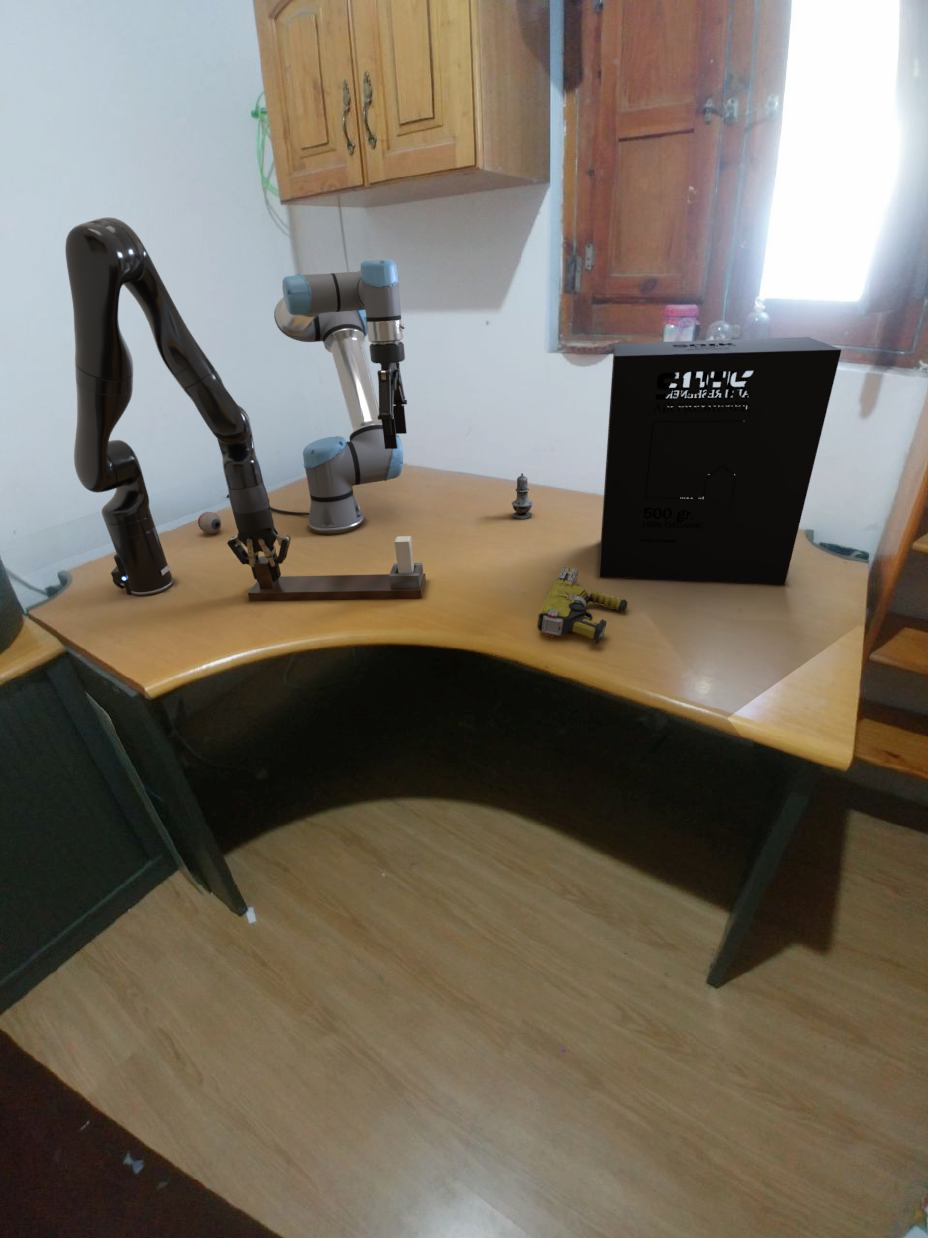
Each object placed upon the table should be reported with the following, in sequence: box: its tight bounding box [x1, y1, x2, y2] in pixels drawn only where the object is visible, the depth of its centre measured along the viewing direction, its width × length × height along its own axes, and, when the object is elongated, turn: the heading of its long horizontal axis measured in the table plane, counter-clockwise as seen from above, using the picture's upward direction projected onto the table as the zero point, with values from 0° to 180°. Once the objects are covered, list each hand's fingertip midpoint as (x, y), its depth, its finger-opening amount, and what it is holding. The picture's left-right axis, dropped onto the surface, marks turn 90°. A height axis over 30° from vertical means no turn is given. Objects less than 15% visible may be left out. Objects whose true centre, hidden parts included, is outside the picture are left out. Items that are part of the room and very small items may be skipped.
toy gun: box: [536, 566, 629, 645], centre depth 118 cm, size 5×24×15 cm
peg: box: [394, 535, 415, 574], centre depth 129 cm, size 3×3×10 cm
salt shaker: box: [511, 472, 534, 520], centre depth 165 cm, size 6×6×12 cm
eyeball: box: [197, 511, 222, 534], centre depth 167 cm, size 6×6×6 cm
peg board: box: [247, 555, 427, 602], centre depth 132 cm, size 38×8×8 cm, turn 86°
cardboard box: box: [599, 336, 842, 586], centre depth 126 cm, size 38×20×45 cm, turn 78°
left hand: (268, 579), depth 133 cm, fingers closed on peg board, 3 cm apart
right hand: (396, 440), depth 142 cm, fingers open, 13 cm apart
